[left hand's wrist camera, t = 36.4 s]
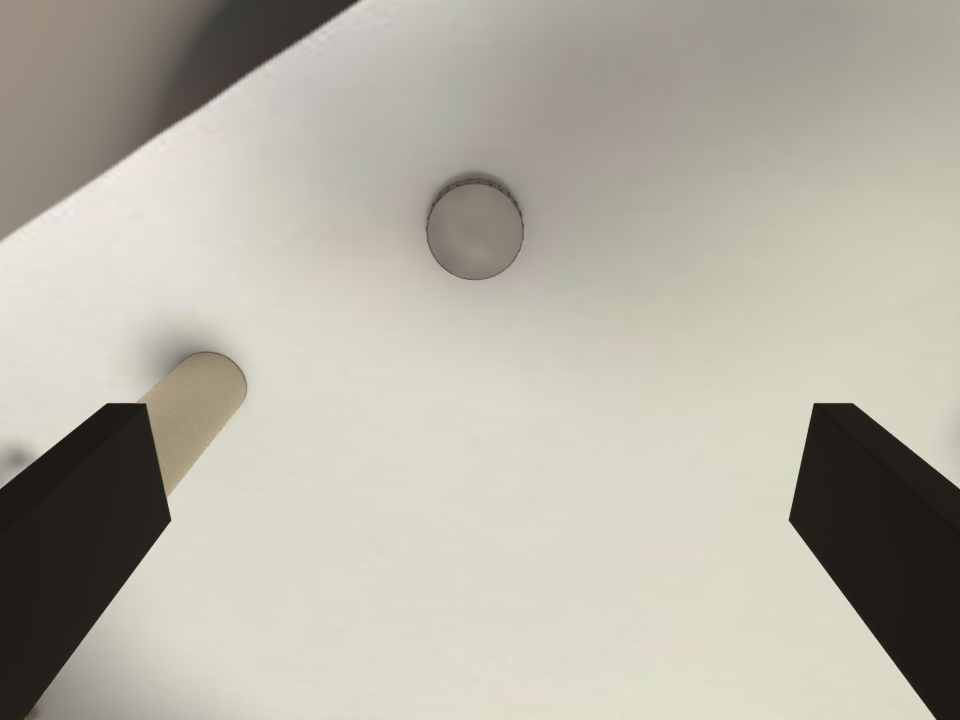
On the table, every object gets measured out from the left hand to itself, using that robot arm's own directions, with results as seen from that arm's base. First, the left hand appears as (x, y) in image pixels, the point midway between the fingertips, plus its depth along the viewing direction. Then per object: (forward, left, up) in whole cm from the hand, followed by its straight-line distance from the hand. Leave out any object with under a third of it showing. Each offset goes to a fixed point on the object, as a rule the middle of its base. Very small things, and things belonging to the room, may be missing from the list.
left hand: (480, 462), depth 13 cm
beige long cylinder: (+20, 0, -26) cm, 33 cm away
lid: (0, 0, -25) cm, 25 cm away
